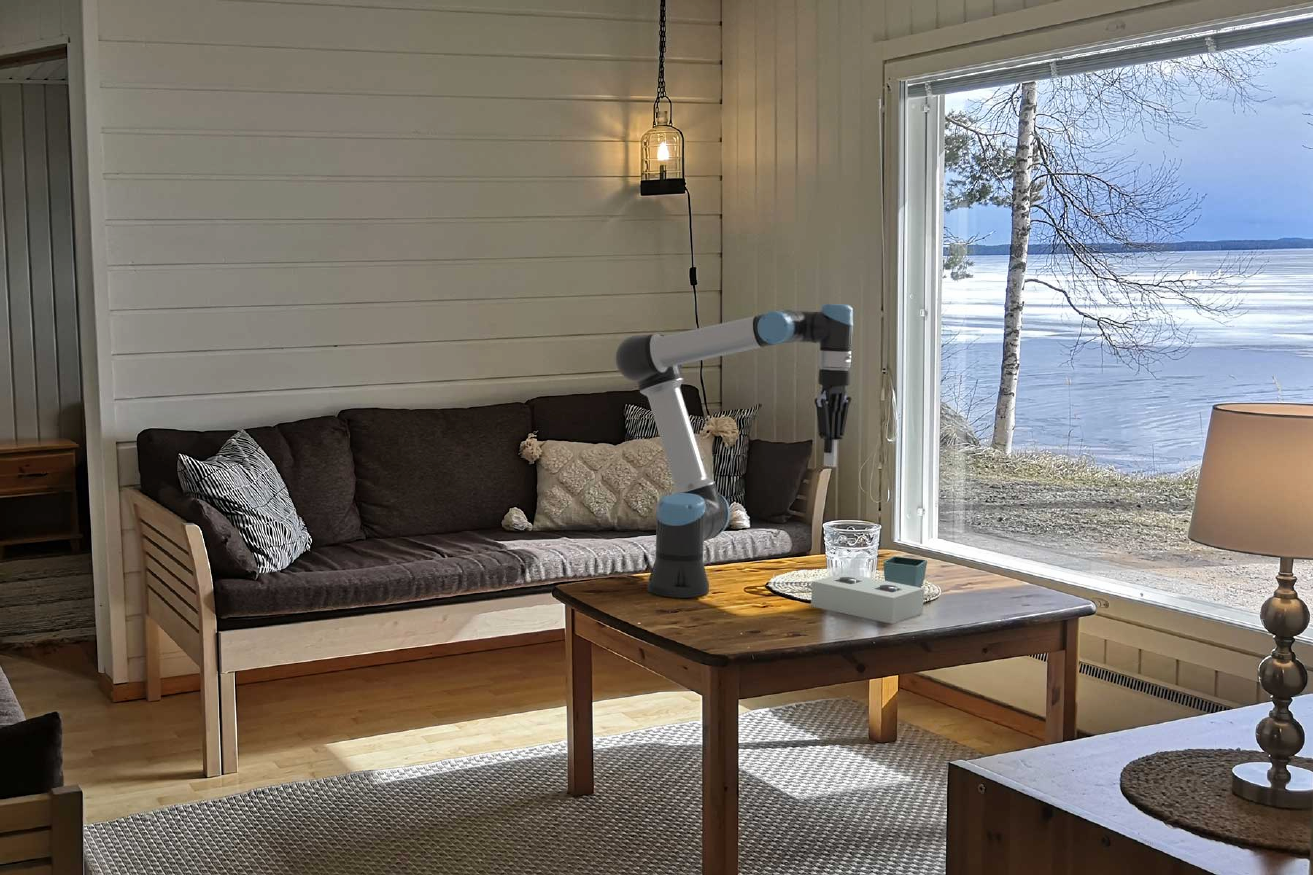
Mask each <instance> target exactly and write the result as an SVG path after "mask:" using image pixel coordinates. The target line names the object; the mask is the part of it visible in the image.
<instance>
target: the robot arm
mask: <svg viewBox="0 0 1313 875" xmlns="http://www.w3.org/2000/svg"><path fill="white" fill-rule="evenodd" d="M853 317H854V309H853V307H852V306H851V304H839V303H838V304H837V303H835V304H834V303H824V304H822V305H821V309H820V311H806V310H805V311H804V310H802V311H801V310H791V309H790V310H789V309H785V310H772V311H768V312H766V313H764V314H760V315H754V316H749V317H744V318H740V319H736V320H732V321H727V322H726V321H725V322H721V323H719V324H713V325H708V326H704V327H699V328H695V329H690V330H687V331H680V332H677V333H672V334H668V335H665V334H661V333H651V334H638V335H637V334H636V335H632V336H629V337H627V338H625V339H624V340H623V341H622V342H621V343H620V344H619V345H618V347H617V349H616V353H615V364H616V367H617V370H618V371H619V373H620V374H621V375H622V376H623V377H624V378H626V379H627V380H629V381H632V382H636V383H637V387H638V390H639V393H640V394H642V395H644V396H646V397H647V399H648V403H649V405H650V406H649V407H650V409H651V412H652V415H653V419H654V422H655V425H656V429H657V431H658V435H659V438H660V442H661V446H662V448H663V451H664V452H663V453H664V455H665V457H666V458H665V459H666V462H667V465H668V468H669V471H670V475H671V478H672V480H673V485H674V488H673V490H672V493H671V494H667V495H665V496H663V497H661V498H660V499H659V500H658V503H657V508H656V509H657V510H656V514H655V516H656V528H655V529H656V536H655V540H656V541H655V559H654V563H653V564H652V565H653V566H652V568H651V571H650V574H649V577H648V580H647V589H646V590H647V591H648V593H650V594H653V595H656V596H660V597H666V598H681V599H685V598H687V599H690V598H698V597H703V596H706V595H708V594H709V592H710V581H709V580H708V577H707V576H708V575H707V571H706V568H705V564H704V542H705V541H708V540H711V539H714V538H716V537H717V536H719V535H720V534H721V533H722V532H724V530H726V529H727V526H728V525H729V522H730V518H731V508H730V504H729V502H728V501H727V499H726V498H725V496H723V495H722V494H721V493H719V491H718V486H717V484H716V481H714V480H713V479H711V478H709V477H708V475H707V472H706V469H705V468H706V467H705V466H704V463H703V458H702V455H701V452H700V449H699V446H698V443H697V439H696V436H695V433H694V430H693V426H692V423H691V419H690V417H689V412H688V409H687V407H686V403H685V400H684V397H683V394H682V389H681V385H682V383H683V381H684V377H683V372H682V366H683V365H684V364H689V363H694V362H698V361H703V360H709V359H712V358H718V357H721V356H727V355H731V354H737V353H740V352H745V351H751V350H756V349H759V348H765V347H771V346H775V345H780V344H787V343H812V344H813V343H814V344H819V356H818V358H819V359H818V366H819V367H820V369H819V370H818V377H817V378H818V382H817V383H818V384H819V385H821V386H822V387H821V391H820V396H819V397H816V398H814V403H815V404H814V405H815V407H816V418H817V429H818V436H819V438H820V439H822V440H824V442H823V443H824V446H823V447H824V448H823V467H828V468H831V467H832V468H836V467H837V460H838V443H839V440H842V439H843V436H844V434H845V431H846V429H845V428H846V425H847V418H848V412H849V407H850V404H851V402H852V397H851V396H847V390H846V387H847V386H849V385H850V384H851V370H850V368H851V365H852V364H851V363H852V362H851V361H852V345H853V344H852V343H853V328H854V321H853V320H854V318H853Z"/></svg>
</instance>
